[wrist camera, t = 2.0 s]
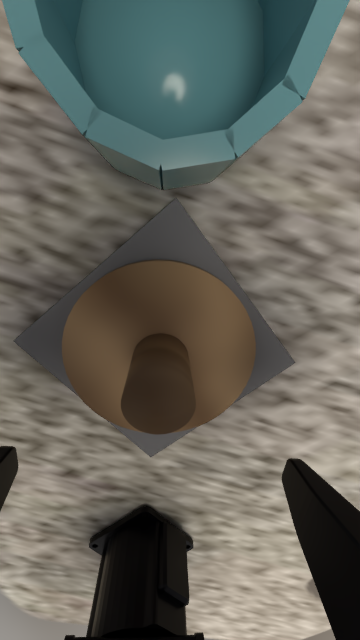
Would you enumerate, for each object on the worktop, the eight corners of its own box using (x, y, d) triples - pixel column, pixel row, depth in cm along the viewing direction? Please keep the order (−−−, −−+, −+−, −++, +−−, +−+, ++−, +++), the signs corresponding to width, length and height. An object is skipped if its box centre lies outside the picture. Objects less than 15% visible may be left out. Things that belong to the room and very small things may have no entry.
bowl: (159, 226, 13) (156, 228, 9) (17, 44, 10) (-102, -101, 6) (311, 95, 12) (409, 8, 7) (191, -164, 9) (219, -599, 4)
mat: (151, 452, 19) (150, 457, 18) (16, 338, 15) (13, 341, 15) (292, 359, 16) (295, 362, 16) (176, 198, 13) (176, 197, 12)
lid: (151, 449, 18) (146, 524, 14) (26, 342, 15) (-36, 393, 10) (285, 361, 16) (330, 415, 12) (174, 213, 13) (178, 207, 8)
